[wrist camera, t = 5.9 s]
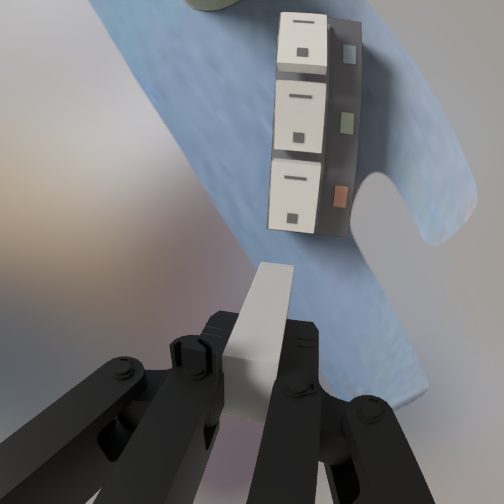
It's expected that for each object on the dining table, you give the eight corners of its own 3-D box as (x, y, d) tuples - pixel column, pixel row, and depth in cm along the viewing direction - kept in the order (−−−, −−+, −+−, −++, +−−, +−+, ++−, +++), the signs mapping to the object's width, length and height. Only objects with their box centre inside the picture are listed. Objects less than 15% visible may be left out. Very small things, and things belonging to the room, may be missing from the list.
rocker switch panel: (283, 31, 26) (277, 10, 21) (354, 38, 25) (363, 18, 19) (272, 217, 34) (264, 232, 29) (342, 224, 33) (348, 241, 27)
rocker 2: (275, 79, 22) (273, 80, 21) (327, 83, 21) (328, 84, 20) (274, 144, 26) (271, 149, 24) (323, 148, 25) (323, 153, 24)
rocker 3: (271, 158, 25) (269, 161, 24) (322, 162, 24) (323, 166, 23) (268, 221, 28) (266, 228, 26) (315, 226, 27) (315, 234, 26)
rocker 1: (280, 21, 21) (278, 11, 20) (328, 24, 21) (328, 14, 19) (276, 71, 22) (274, 61, 20) (328, 75, 21) (329, 66, 20)
